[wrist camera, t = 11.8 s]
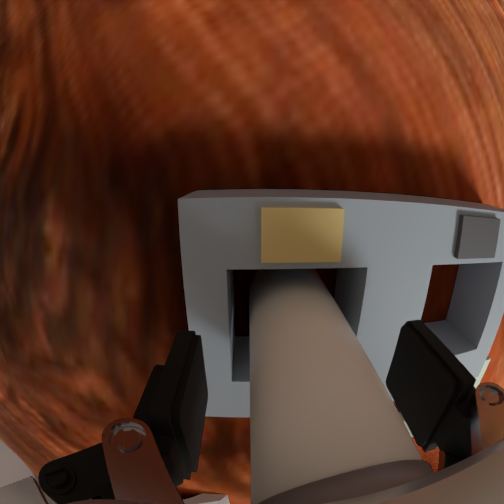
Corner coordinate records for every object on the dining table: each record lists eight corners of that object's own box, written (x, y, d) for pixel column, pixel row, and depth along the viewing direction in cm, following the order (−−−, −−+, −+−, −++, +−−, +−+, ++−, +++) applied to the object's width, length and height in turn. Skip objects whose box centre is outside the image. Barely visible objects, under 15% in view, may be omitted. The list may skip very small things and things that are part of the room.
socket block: (483, 203, 14) (528, 216, 10) (451, 347, 17) (480, 379, 13) (196, 190, 14) (175, 199, 10) (209, 370, 17) (201, 420, 13)
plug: (326, 255, 15) (482, 469, 3) (319, 324, 16) (400, 538, 4) (247, 255, 15) (244, 530, 2) (247, 325, 16) (247, 564, 4)
